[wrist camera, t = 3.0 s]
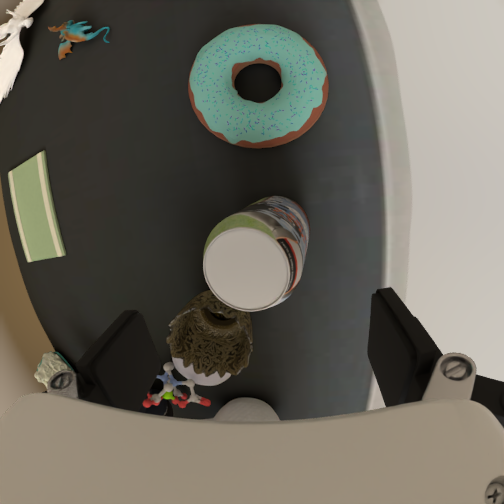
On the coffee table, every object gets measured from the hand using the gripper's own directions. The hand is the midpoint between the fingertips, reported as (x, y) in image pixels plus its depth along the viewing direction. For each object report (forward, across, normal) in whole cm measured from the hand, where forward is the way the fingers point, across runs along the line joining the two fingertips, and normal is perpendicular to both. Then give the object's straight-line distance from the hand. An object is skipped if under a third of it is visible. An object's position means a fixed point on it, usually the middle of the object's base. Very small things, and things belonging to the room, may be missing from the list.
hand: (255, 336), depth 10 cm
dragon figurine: (+16, +18, -28) cm, 37 cm away
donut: (+17, -1, -14) cm, 21 cm away
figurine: (+8, +40, -39) cm, 56 cm away
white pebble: (+15, +10, +15) cm, 24 cm away
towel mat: (+16, +31, -8) cm, 36 cm away
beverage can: (+17, 0, -1) cm, 17 cm away
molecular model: (+11, +10, +17) cm, 23 cm away
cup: (+17, +6, +7) cm, 19 cm away
